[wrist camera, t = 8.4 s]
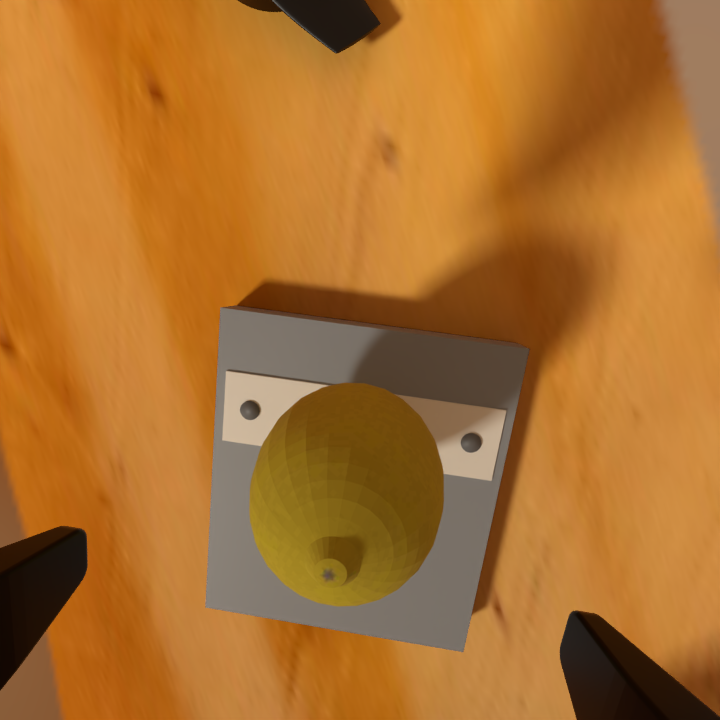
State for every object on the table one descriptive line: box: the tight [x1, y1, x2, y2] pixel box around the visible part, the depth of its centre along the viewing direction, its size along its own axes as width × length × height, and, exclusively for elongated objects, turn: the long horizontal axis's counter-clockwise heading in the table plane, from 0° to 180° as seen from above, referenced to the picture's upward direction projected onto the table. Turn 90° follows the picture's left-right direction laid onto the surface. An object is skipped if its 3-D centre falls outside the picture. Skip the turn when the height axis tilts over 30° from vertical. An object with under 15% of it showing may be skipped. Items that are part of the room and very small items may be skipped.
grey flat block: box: [206, 306, 530, 652], centre depth 17 cm, size 14×12×2 cm
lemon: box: [249, 383, 444, 607], centre depth 12 cm, size 6×6×8 cm
